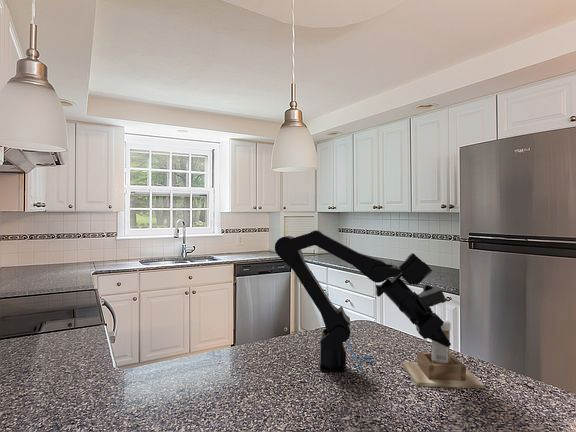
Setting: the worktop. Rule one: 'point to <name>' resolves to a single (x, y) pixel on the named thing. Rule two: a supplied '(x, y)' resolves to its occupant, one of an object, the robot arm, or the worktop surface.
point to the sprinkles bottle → (442, 347)
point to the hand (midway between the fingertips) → (446, 342)
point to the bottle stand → (441, 373)
